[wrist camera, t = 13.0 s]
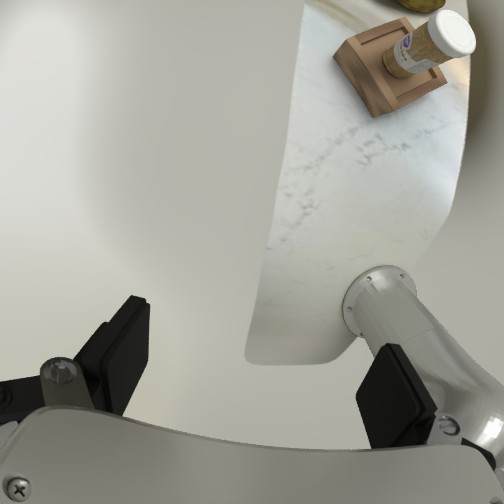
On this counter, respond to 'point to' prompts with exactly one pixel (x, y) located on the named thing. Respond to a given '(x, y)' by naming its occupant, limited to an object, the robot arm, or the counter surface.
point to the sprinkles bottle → (430, 45)
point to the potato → (422, 4)
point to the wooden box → (383, 69)
